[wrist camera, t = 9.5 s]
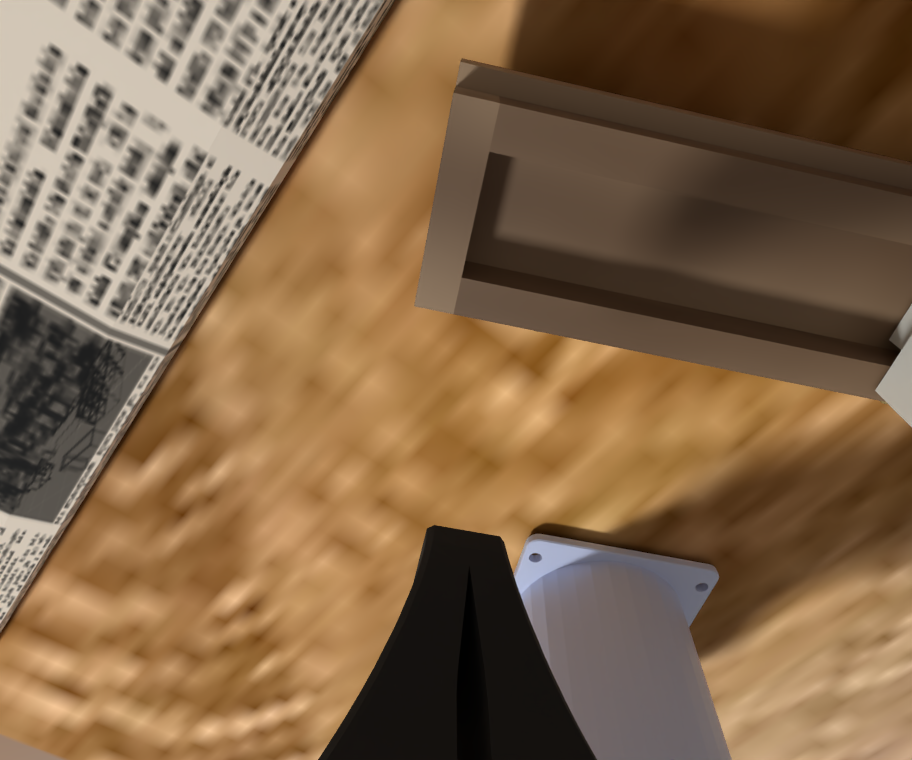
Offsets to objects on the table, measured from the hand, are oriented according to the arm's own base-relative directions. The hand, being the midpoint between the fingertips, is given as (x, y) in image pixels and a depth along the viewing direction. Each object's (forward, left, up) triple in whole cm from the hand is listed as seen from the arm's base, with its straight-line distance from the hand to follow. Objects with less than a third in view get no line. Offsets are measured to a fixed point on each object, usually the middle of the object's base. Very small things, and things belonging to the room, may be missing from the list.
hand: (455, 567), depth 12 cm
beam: (+5, -12, -10) cm, 17 cm away
